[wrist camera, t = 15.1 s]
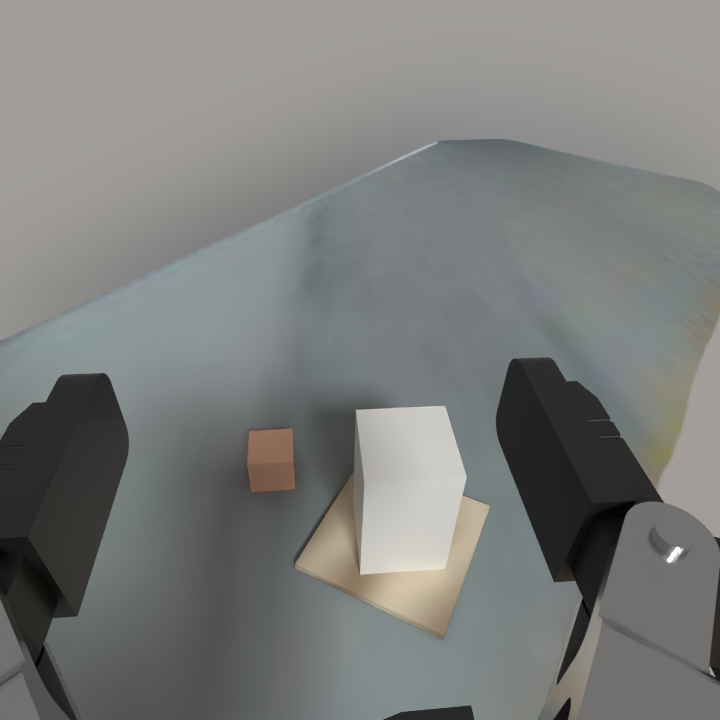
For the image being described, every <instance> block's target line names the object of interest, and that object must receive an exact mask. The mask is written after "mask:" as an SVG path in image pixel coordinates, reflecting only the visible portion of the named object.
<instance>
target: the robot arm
mask: <svg viewBox="0 0 720 720" xmlns="http://www.w3.org/2000/svg"><path fill="white" fill-rule="evenodd" d="M496 429H497V435H498V439H499V442H500V445H501V448H502V450H503V453H504V455H505V458H506V460H507V463H508V465H509V468H510V471H511V473H512V476H513V478H514V481H515V483H516V486H517V488H518V491H519V494H520V496H521V499H522V501H523V504H524V506H525V509H526V511H527V514H528V517H529V519H530V522H531V524H532V527H533V529H534V532H535V534H536V537H537V540H538V542H539V545H540V547H541V550H542V552H543V555H544V557H545V560H546V563H547V565H548V568H549V570H550V573H551V575H552V578H553V580H554V582H564V581H576V583H577V585H578V588H579V590H580V592H581V597H580V598H579V601H578V603H577V606H576V609H575V612H574V615H573V619H572V622H571V625H570V628H569V631H568V634H567V638H566V641H565V644H564V647H563V650H562V653H561V656H560V660H559V663H558V666H557V669H556V672H555V675H554V679H553V682H552V685H551V688H550V691H549V694H548V696H547V699H546V701H545V704H544V706H543V708H542V710H541V713H540V715H539V717H538V720H720V538H717V537H713V535H712V534H711V533H710V531H709V530H708V529H707V528H706V527H705V526H704V525H703V524H702V523H701V522H700V521H699V520H698V519H696V518H695V517H694V516H692V515H691V514H689V513H687V512H686V511H684V510H682V509H680V508H678V507H675V506H672V505H669V504H666V503H664V502H663V500H662V499H661V497H660V496H659V494H658V493H657V491H656V489H655V488H654V486H653V485H652V483H651V482H650V480H649V478H648V477H647V475H646V474H645V472H644V471H643V469H642V467H641V466H640V464H639V463H638V461H637V460H636V458H635V456H634V455H633V453H632V452H631V450H630V448H629V447H628V445H627V444H626V442H625V441H624V439H623V438H620V433H619V431H618V430H617V428H616V426H615V425H614V423H613V422H610V417H609V415H608V414H607V412H606V411H605V409H604V408H603V406H602V404H601V403H600V401H599V400H598V398H597V397H596V396H594V395H593V394H592V393H591V392H589V391H588V390H587V389H586V388H585V387H583V386H582V385H581V384H580V383H578V382H577V381H568V382H566V380H565V378H564V377H563V375H562V373H561V372H560V370H559V368H558V367H557V365H556V363H555V362H554V360H553V359H551V358H548V357H547V358H521V359H513V360H512V361H511V362H510V364H509V367H508V370H507V374H506V378H505V382H504V386H503V390H502V394H501V398H500V402H499V406H498V409H497V415H496ZM128 449H129V438H128V431H127V427H126V424H125V421H124V418H123V416H122V413H121V410H120V407H119V404H118V401H117V398H116V395H115V393H114V390H113V387H112V384H111V381H110V379H109V377H108V376H107V375H106V374H104V373H97V374H71V375H62V376H60V377H59V378H58V380H57V382H56V384H55V385H54V387H53V389H52V391H51V393H50V395H49V397H48V399H47V401H46V402H42V403H32V404H31V405H30V406H29V407H28V408H27V409H26V410H24V411H23V412H22V413H21V414H20V415H19V416H18V417H16V418H15V419H14V420H13V421H12V422H11V423H10V424H9V426H8V428H7V429H6V431H5V433H4V435H3V436H2V438H1V440H0V720H82V719H81V717H80V715H79V713H78V710H77V708H76V706H75V704H74V702H73V699H72V697H71V695H70V693H69V691H68V688H67V686H66V684H65V682H64V680H63V677H62V675H61V673H60V671H59V668H58V666H57V664H56V662H55V660H54V657H53V655H52V653H51V651H50V649H49V646H48V644H47V643H46V641H45V638H46V635H47V632H48V629H49V627H50V624H51V621H52V618H60V617H73V616H77V615H78V612H79V609H80V606H81V603H82V600H83V596H84V593H85V590H86V587H87V584H88V581H89V577H90V574H91V571H92V568H93V565H94V562H95V558H96V555H97V552H98V549H99V546H100V543H101V539H102V536H103V533H104V530H105V527H106V524H107V521H108V517H109V514H110V511H111V508H112V505H113V502H114V498H115V495H116V492H117V489H118V486H119V483H120V479H121V476H122V473H123V470H124V467H125V464H126V460H127V456H128ZM709 666H710V667H711V669H712V670H713V673H714V675H715V677H714V676H712V675H710V671H709ZM384 720H474V717H473V712H472V708H471V706H461V707H450V708H440V709H429V710H418V711H408V712H401V713H398V714H396V715H394V716H391V717H389V718H386V719H384Z"/></svg>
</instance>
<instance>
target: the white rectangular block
mask: <svg viewBox="0 0 720 720" xmlns="http://www.w3.org/2000/svg"><path fill="white" fill-rule="evenodd" d="M465 482H466V473H465V470H464V467H463V463H462V460H461V457H460V454H459V450H458V447H457V444H456V441H455V437H454V434H453V431H452V427H451V424H450V421H449V418H448V414H447V411H446V408H445V406H431V407H408V408H385V409H363V410H356V421H355V456H354V491H353V506H354V517H355V527H356V538H357V548H358V559H359V569H360V575H363V574H377V573H391V572H406V571H420V570H434V569H445V568H446V564H447V559H448V555H449V551H450V546H451V542H452V538H453V533H454V529H455V525H456V520H457V516H458V512H459V507H460V503H461V499H462V494H463V490H464V486H465Z"/></svg>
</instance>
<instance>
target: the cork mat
mask: <svg viewBox="0 0 720 720" xmlns="http://www.w3.org/2000/svg"><path fill="white" fill-rule="evenodd" d="M353 491H354V471H353V473H352V474H351V476H350V478H349V479H348V481H347V482H346V484H345V485H344V487H343V489H342V490H341V492H340V493H339V495H338V497H337V498H336V500H335V501H334V503H333V504H332V506H331V508H330V509H329V511H328V512H327V514H326V516H325V517H324V519H323V520H322V522H321V523H320V525H319V527H318V528H317V530H316V531H315V533H314V535H313V536H312V538H311V539H310V541H309V542H308V544H307V546H306V547H305V549H304V550H303V552H302V554H301V555H300V557H299V558H298V560H297V561H296V563H295V569H297V570H299V571H301V572H303V573H305V574H308V575H310V576H312V577H314V578H316V579H318V580H320V581H322V582H324V583H326V584H328V585H330V586H332V587H335V588H337V589H339V590H341V591H343V592H345V593H347V594H349V595H351V596H353V597H355V598H357V599H359V600H361V601H364V602H366V603H368V604H370V605H372V606H374V607H376V608H378V609H380V610H382V611H384V612H386V613H388V614H391V615H393V616H395V617H397V618H399V619H401V620H403V621H405V622H407V623H409V624H411V625H413V626H415V627H417V628H420V629H422V630H424V631H426V632H428V633H430V634H432V635H434V636H436V637H438V638H440V639H442V640H443V639H444V636H445V633H446V630H447V627H448V625H449V622H450V619H451V616H452V613H453V610H454V607H455V605H456V602H457V599H458V596H459V593H460V590H461V588H462V585H463V582H464V579H465V576H466V573H467V571H468V568H469V565H470V562H471V559H472V556H473V554H474V551H475V548H476V545H477V542H478V539H479V537H480V534H481V531H482V528H483V525H484V522H485V520H486V517H487V514H488V511H489V508H490V506H489V505H486V504H484V503H481V502H478V501H476V500H473V499H471V498H468V497H465V496H463V495H462V499H461V503H460V507H459V512H458V516H457V520H456V525H455V529H454V533H453V538H452V542H451V546H450V551H449V555H448V559H447V564H446V568H445V569H434V570H420V571H406V572H391V573H377V574H363V575H360V569H359V559H358V548H357V538H356V527H355V517H354V506H353Z"/></svg>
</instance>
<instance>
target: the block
mask: <svg viewBox="0 0 720 720" xmlns="http://www.w3.org/2000/svg"><path fill="white" fill-rule="evenodd" d="M247 468H248V474H249V481H250V487H251V493H253V492H267V491H280V490H294V489H295V455H294V441H293V429H276V430H260V431H249V441H248V456H247Z"/></svg>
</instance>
